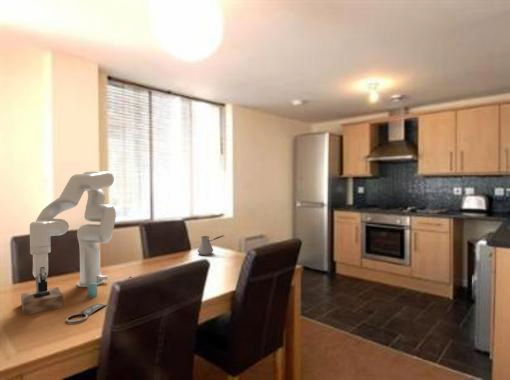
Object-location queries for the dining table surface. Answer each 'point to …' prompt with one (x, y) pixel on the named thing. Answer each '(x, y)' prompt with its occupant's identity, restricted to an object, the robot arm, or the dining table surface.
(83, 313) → the grey ring with handle
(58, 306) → the hole block
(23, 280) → the dining table surface
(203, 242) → the coffee pot
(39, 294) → the tall pin
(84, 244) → the robot arm
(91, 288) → the short pin
